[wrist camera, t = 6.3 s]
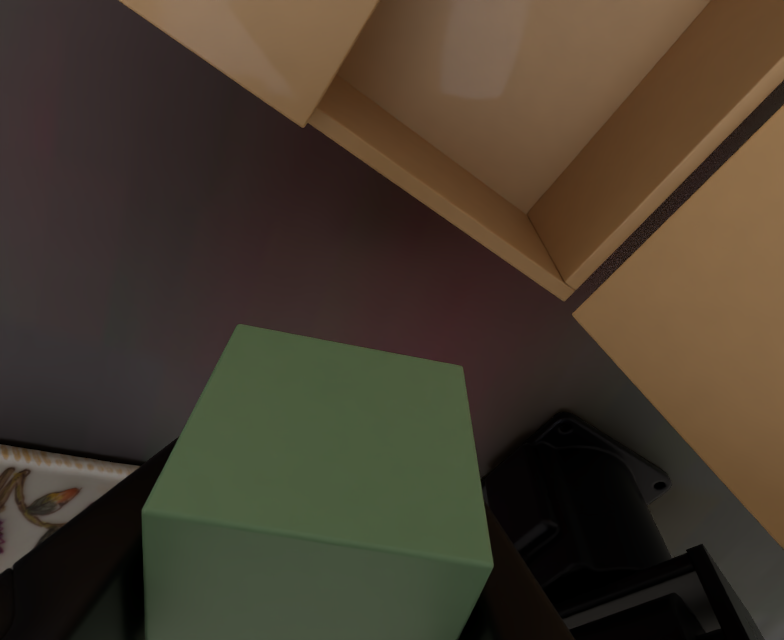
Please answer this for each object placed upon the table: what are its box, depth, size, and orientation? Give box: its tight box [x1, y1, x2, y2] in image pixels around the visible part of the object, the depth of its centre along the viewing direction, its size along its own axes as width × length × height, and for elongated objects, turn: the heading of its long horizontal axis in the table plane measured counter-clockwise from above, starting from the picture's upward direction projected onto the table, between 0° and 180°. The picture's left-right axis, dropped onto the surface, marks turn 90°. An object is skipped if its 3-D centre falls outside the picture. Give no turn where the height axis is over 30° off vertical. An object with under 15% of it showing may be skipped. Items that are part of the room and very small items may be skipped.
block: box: [142, 324, 494, 640], centre depth 9 cm, size 4×4×4 cm
